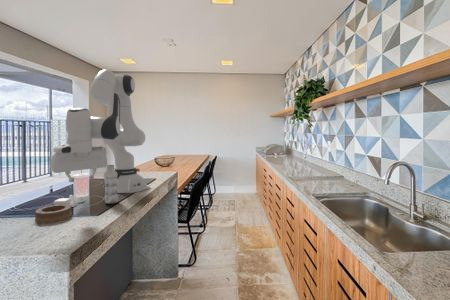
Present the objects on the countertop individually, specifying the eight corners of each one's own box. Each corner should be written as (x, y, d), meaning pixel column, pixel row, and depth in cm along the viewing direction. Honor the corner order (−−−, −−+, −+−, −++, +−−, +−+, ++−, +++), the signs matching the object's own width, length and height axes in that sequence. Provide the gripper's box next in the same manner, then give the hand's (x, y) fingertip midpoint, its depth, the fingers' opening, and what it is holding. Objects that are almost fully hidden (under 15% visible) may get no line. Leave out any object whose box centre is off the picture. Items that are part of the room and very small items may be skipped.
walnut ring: (66, 211, 115) (65, 202, 114) (75, 217, 106) (74, 208, 106) (33, 218, 105) (32, 208, 105) (40, 225, 97) (39, 215, 97)
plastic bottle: (113, 205, 123) (112, 166, 122) (101, 204, 125) (100, 165, 123) (121, 201, 130) (120, 164, 128) (109, 201, 131) (108, 164, 130)
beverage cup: (75, 194, 104) (74, 161, 103) (92, 193, 106) (90, 161, 105) (72, 198, 98) (70, 163, 97) (89, 196, 100) (87, 163, 99)
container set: (65, 212, 113) (65, 200, 113) (54, 212, 113) (53, 201, 113) (86, 200, 133) (86, 190, 133) (76, 200, 133) (76, 190, 132)
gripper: (103, 145, 110) (104, 175, 111) (48, 148, 95) (50, 183, 96) (109, 146, 106) (110, 177, 107) (53, 149, 91) (55, 186, 92)
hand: (81, 180), depth 102 cm, fingers closed on beverage cup, 6 cm apart
